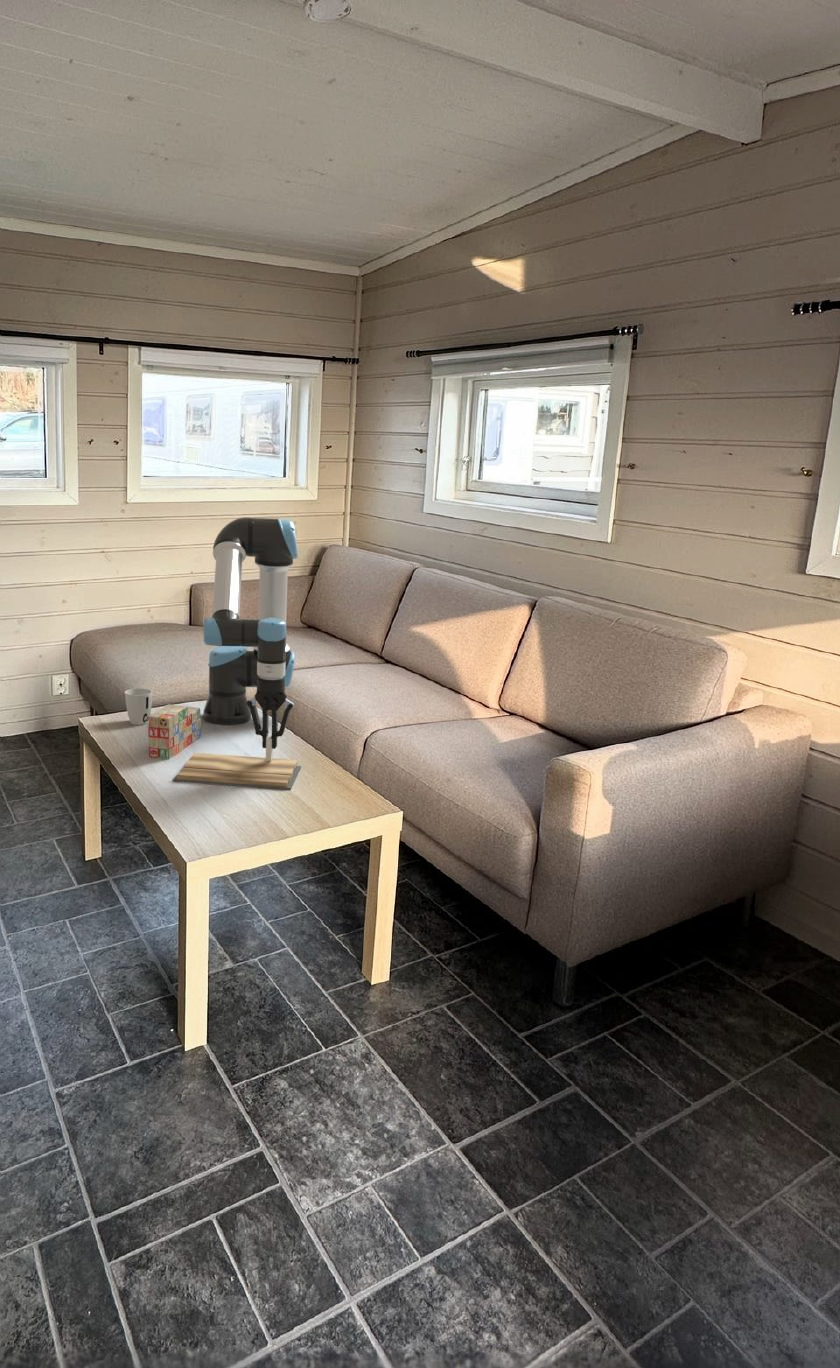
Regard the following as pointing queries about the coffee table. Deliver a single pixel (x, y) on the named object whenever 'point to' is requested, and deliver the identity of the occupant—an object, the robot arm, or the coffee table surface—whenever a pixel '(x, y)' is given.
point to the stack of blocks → (173, 730)
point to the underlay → (245, 784)
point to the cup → (138, 705)
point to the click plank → (241, 764)
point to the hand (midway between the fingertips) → (269, 759)
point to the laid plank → (234, 777)
